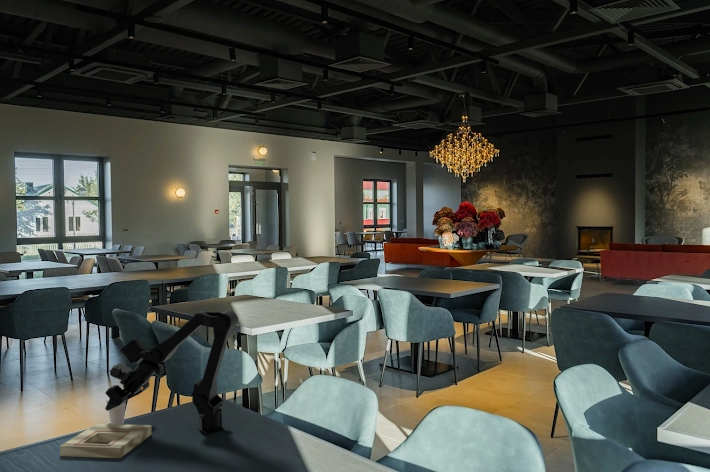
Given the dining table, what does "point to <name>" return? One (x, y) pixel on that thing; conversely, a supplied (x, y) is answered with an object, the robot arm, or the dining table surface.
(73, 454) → the socket board
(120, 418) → the smoothie
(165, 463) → the dining table surface
